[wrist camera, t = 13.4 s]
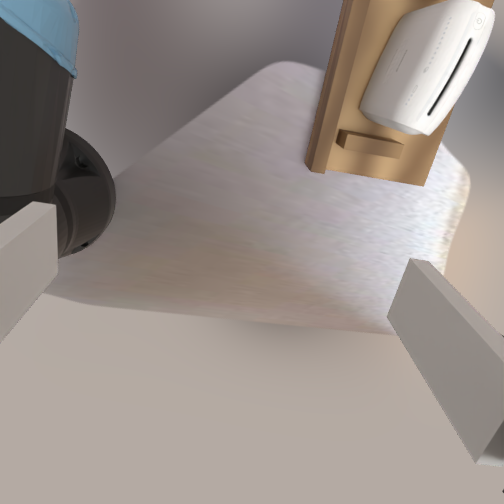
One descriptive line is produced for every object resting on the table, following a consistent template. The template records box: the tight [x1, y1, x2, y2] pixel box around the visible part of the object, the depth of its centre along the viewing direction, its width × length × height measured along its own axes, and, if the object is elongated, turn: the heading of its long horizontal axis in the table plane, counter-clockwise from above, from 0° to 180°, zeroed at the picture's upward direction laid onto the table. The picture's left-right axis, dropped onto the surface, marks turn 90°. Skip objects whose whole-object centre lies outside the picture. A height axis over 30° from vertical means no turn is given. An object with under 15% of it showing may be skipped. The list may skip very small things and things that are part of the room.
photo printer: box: [359, 0, 495, 136], centre depth 34 cm, size 10×4×12 cm, turn 159°
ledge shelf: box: [305, 0, 494, 186], centre depth 39 cm, size 14×22×5 cm, turn 170°
